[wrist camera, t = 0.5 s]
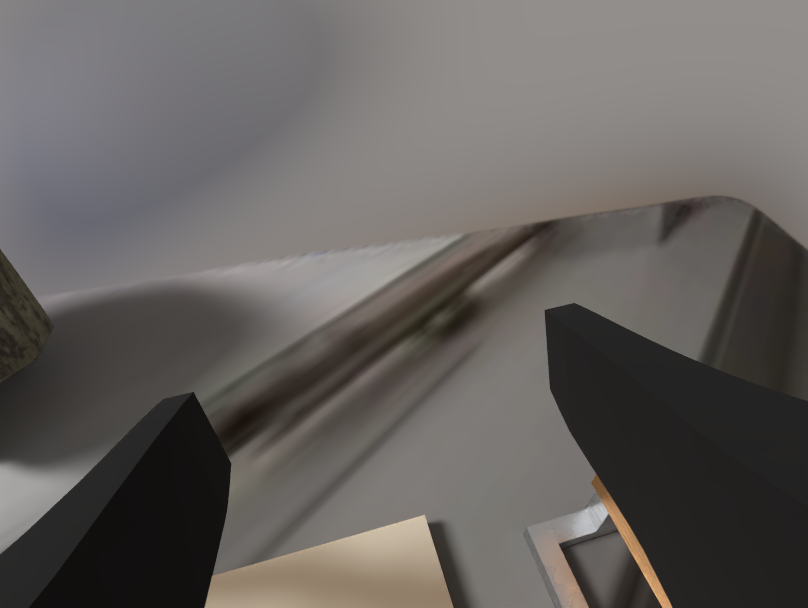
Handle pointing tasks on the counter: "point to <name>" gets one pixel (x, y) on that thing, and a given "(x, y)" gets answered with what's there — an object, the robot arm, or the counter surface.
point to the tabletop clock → (19, 322)
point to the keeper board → (343, 574)
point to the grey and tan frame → (578, 528)
